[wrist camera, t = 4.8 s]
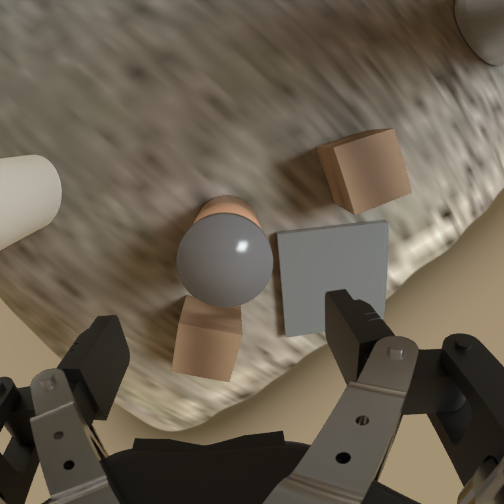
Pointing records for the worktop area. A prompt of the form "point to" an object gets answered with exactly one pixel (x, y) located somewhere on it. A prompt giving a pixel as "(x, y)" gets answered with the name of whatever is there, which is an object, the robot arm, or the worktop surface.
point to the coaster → (330, 270)
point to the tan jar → (225, 254)
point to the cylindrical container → (27, 196)
